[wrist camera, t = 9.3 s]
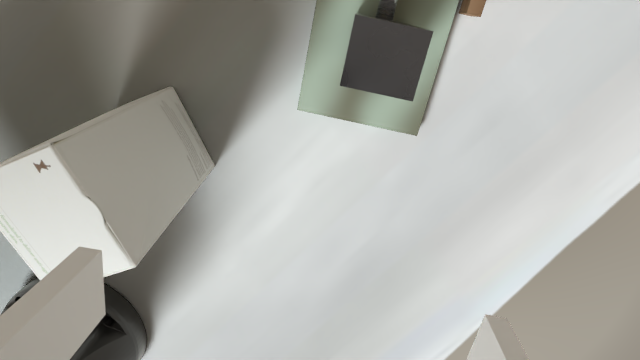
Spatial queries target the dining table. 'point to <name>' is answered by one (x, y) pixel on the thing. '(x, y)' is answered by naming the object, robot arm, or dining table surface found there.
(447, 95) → the dining table surface
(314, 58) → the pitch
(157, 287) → the dining table surface
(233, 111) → the dining table surface
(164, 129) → the skincare box
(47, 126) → the dining table surface
